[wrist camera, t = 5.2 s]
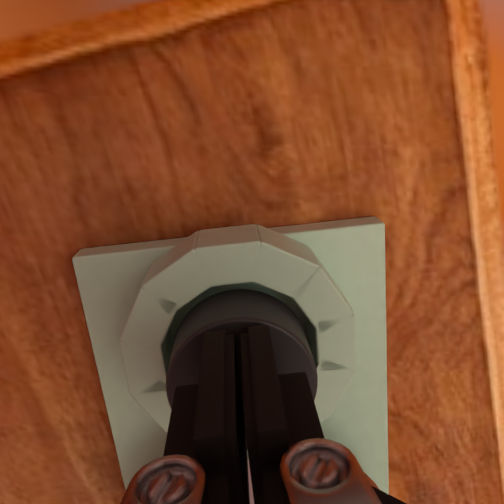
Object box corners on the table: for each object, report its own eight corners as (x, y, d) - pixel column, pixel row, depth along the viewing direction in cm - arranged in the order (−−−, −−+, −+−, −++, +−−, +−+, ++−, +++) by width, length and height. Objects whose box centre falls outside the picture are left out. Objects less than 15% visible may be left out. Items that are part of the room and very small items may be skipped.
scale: (76, 235, 16) (42, 265, 13) (375, 202, 16) (408, 224, 13) (149, 560, 20) (137, 636, 17) (382, 532, 20) (408, 603, 17)
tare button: (164, 296, 14) (153, 328, 12) (301, 280, 14) (313, 310, 12) (184, 412, 15) (177, 459, 13) (310, 397, 15) (322, 442, 13)
